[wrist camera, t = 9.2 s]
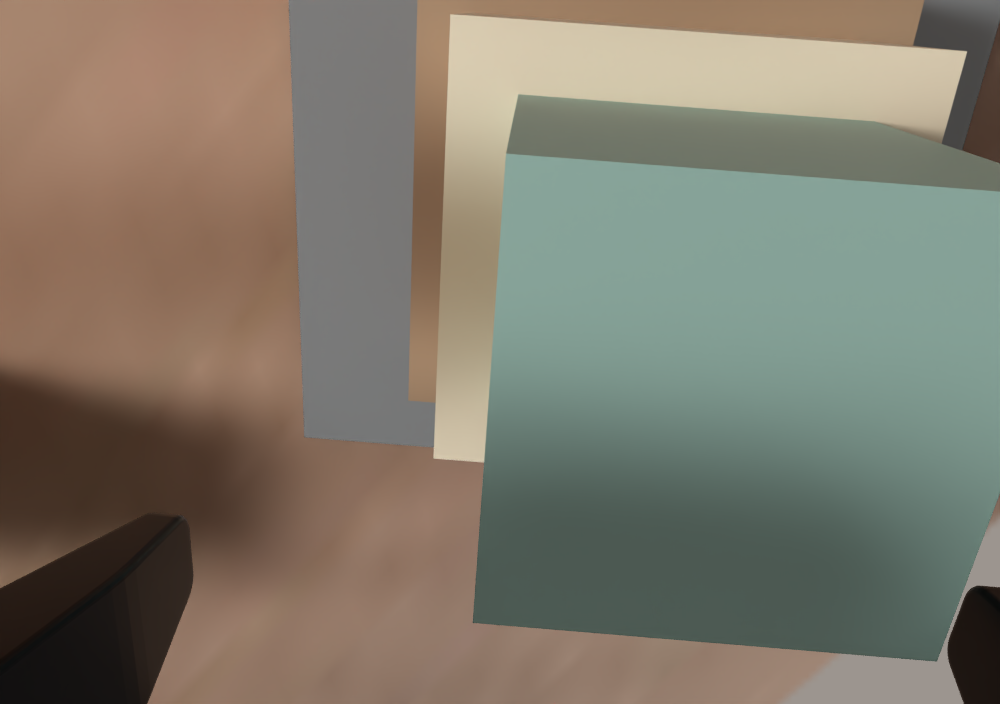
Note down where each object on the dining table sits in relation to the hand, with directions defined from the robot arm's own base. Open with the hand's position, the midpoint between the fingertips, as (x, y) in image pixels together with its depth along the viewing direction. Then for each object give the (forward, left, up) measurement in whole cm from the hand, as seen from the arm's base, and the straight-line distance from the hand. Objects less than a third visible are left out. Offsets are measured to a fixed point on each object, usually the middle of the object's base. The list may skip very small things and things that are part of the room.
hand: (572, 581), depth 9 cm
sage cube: (+2, -1, -4) cm, 5 cm away
